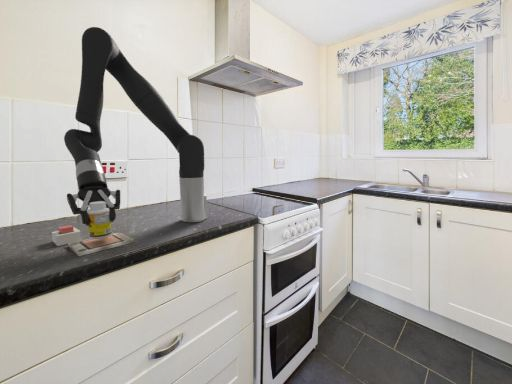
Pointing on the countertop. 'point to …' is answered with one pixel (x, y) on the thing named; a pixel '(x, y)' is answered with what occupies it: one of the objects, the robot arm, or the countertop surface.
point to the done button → (65, 229)
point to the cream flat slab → (99, 244)
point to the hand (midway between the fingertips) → (100, 222)
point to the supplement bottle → (99, 220)
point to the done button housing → (66, 237)
